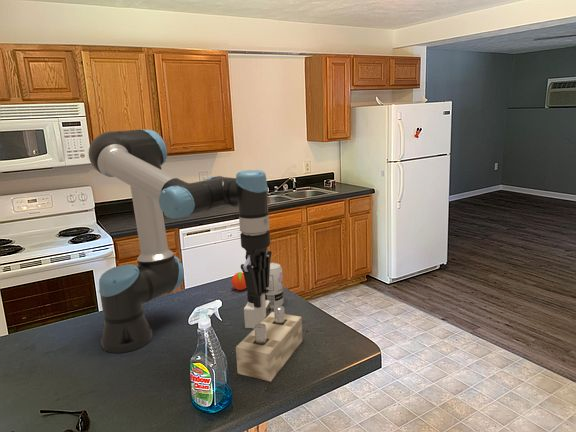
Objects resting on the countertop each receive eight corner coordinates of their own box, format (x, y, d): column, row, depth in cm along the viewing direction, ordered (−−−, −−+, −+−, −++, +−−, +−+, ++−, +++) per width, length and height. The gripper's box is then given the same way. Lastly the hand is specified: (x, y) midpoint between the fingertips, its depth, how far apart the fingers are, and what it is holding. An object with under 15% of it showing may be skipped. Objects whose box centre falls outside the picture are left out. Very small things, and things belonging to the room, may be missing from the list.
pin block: (237, 373, 116) (235, 346, 114) (273, 335, 136) (272, 311, 134) (270, 381, 112) (269, 354, 110) (302, 340, 132) (301, 316, 130)
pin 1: (254, 352, 117) (252, 327, 115) (259, 347, 119) (257, 322, 118) (263, 355, 116) (262, 329, 114) (268, 349, 118) (267, 324, 116)
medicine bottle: (265, 329, 139) (264, 295, 136) (244, 328, 141) (242, 294, 138) (271, 319, 146) (269, 286, 143) (250, 318, 147) (248, 285, 145)
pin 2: (273, 332, 127) (272, 308, 126) (277, 327, 130) (276, 304, 128) (282, 334, 126) (281, 310, 124) (286, 329, 129) (285, 306, 127)
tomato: (250, 293, 168) (249, 275, 167) (232, 294, 167) (231, 277, 166) (249, 285, 176) (248, 268, 174) (232, 286, 175) (230, 270, 174)
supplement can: (258, 301, 160) (256, 263, 157) (280, 298, 162) (278, 260, 159) (264, 311, 152) (262, 271, 149) (286, 307, 155) (284, 268, 151)
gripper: (255, 239, 102) (261, 330, 108) (279, 226, 114) (283, 308, 119) (228, 237, 105) (235, 325, 111) (254, 224, 117) (259, 304, 122)
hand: (260, 316), depth 115 cm, fingers closed
